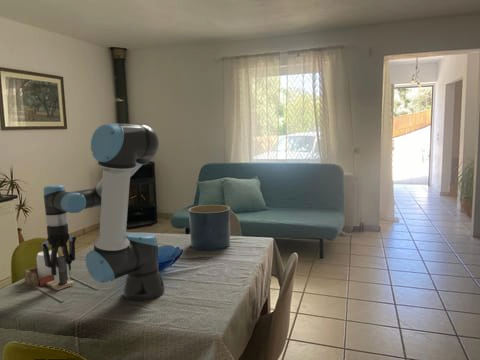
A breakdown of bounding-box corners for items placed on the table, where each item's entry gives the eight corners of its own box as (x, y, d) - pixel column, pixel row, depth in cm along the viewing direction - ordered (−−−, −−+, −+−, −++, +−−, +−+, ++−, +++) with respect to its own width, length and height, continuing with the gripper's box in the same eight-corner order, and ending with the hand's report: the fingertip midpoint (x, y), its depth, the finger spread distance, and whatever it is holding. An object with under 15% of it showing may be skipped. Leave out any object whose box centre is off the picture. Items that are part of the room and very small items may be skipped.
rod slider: (79, 282, 151) (76, 254, 149) (51, 292, 143) (49, 262, 141) (66, 277, 158) (64, 250, 156) (40, 285, 149) (37, 257, 148)
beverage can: (51, 284, 151) (48, 256, 150) (34, 283, 153) (31, 255, 151) (64, 276, 159) (61, 250, 158) (48, 275, 161) (45, 249, 159)
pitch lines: (98, 289, 145) (98, 288, 145) (61, 302, 134) (61, 301, 134) (70, 276, 159) (70, 275, 159) (35, 287, 148) (34, 286, 148)
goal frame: (70, 276, 159) (69, 265, 159) (35, 287, 148) (33, 275, 148) (59, 271, 166) (58, 260, 165) (24, 281, 155) (23, 270, 154)
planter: (186, 251, 190) (185, 213, 187) (193, 239, 212) (192, 205, 209) (229, 250, 189) (228, 212, 186) (232, 238, 211) (231, 204, 208)
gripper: (72, 218, 154) (77, 272, 157) (31, 227, 141) (36, 285, 144) (81, 221, 149) (86, 276, 152) (39, 229, 137) (45, 289, 139)
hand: (62, 280), depth 148 cm, fingers closed on rod slider, 3 cm apart
